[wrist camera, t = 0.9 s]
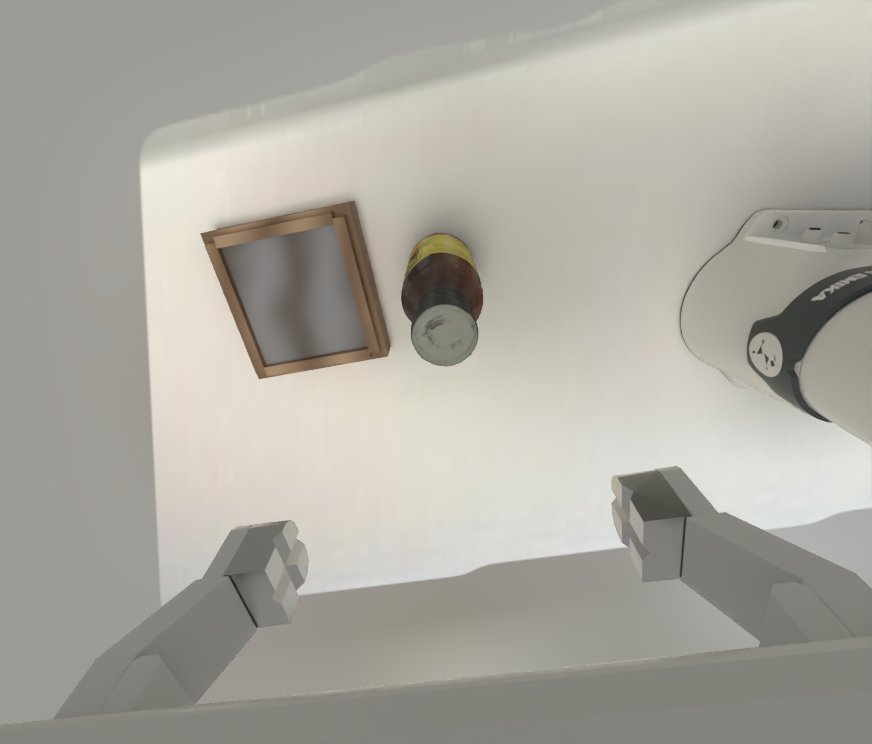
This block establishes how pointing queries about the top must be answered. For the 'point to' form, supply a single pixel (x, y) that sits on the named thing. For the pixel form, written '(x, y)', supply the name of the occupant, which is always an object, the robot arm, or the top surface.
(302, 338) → the tray
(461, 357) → the sauce bottle
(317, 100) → the top surface
